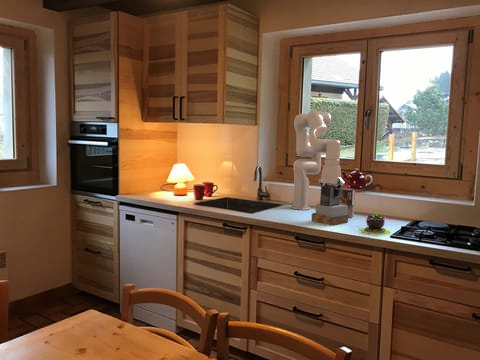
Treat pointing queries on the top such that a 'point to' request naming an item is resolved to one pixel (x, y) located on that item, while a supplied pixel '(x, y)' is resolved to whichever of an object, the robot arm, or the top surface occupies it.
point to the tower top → (332, 210)
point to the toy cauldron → (375, 225)
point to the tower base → (329, 219)
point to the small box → (329, 196)
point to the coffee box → (348, 200)
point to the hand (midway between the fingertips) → (330, 195)
